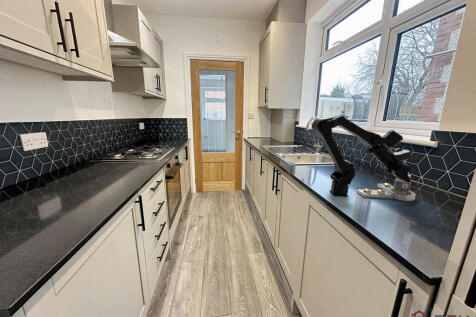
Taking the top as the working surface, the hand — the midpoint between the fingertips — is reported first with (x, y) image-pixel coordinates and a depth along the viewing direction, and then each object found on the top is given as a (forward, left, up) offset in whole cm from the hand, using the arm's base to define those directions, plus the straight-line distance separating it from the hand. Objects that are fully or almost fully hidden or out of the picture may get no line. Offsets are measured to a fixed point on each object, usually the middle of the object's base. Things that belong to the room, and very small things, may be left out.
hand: (406, 180), depth 89 cm
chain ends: (-8, +4, -8) cm, 12 cm away
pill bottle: (-1, 0, -8) cm, 8 cm away
